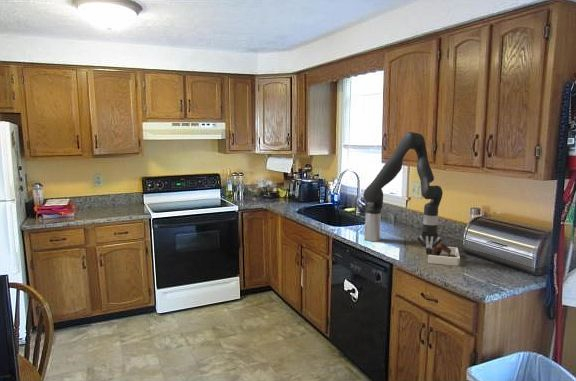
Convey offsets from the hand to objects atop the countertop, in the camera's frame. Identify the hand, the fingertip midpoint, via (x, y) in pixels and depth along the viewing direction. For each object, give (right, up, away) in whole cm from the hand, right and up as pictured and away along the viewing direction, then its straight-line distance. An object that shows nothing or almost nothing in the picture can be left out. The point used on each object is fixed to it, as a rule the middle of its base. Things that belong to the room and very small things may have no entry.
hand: (428, 254), depth 214 cm
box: (+6, -2, -2) cm, 7 cm away
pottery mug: (+6, -2, +1) cm, 6 cm away
